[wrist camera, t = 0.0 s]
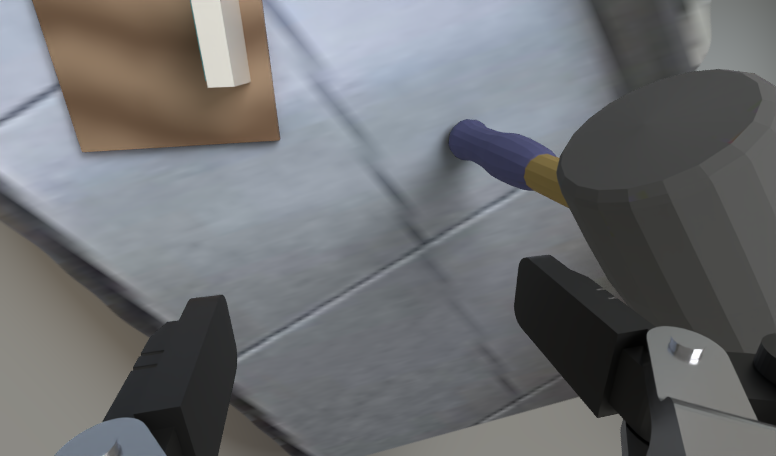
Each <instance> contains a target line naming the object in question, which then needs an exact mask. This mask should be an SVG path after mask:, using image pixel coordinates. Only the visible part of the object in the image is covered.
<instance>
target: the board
mask: <svg viewBox="0 0 776 456" xmlns="http://www.w3.org/2000/svg"><path fill="white" fill-rule="evenodd" d="M32 1H33V4H34V7H35V10H36V13H37V16H38V20H39V23H40V26H41V29H42V32H43V35H44V38H45V41H46V44H47V47H48V50H49V53H50V56H51V59H52V62H53V65H54V68H55V71H56V74H57V77H58V80H59V83H60V86H61V89H62V92H63V96H64V99H65V102H66V105H67V108H68V111H69V114H70V117H71V120H72V123H73V126H74V129H75V132H76V135H77V138H78V141H79V144H80V147H81V150H82V152H94V151H111V150H127V149H144V148H161V147H177V146H194V145H210V144H227V143H243V142H260V141H276V140H280V133H279V126H278V118H277V110H276V103H275V95H274V88H273V80H272V72H271V65H270V57H269V50H268V42H267V34H266V27H265V19H264V12H263V4H262V0H239V6H240V13H241V20H242V26H243V33H244V39H245V46H246V52H247V59H248V66H249V72H250V79H251V82H249V83H246V84H242V85H239V86H235V87H213V88H208V86H207V81H205V76H204V71H203V66H202V61H201V56H200V50H199V45H198V40H197V35H196V30H195V25H194V19H193V14H192V9H191V4H190V0H32Z"/></svg>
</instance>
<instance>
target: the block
mask: <svg viewBox="0 0 776 456" xmlns="http://www.w3.org/2000/svg"><path fill="white" fill-rule="evenodd" d="M190 4H191V9H192V14H193V19H194V25H195V30H196V35H197V40H198V45H199V50H200V56H201V61H202V66H203V71H204V76H205V81H207V86H208V88H213V87H235V86H239V85H242V84H246V83H249V82H251V79H250V72H249V66H248V59H247V52H246V46H245V39H244V33H243V26H242V20H241V13H240V6H239V0H190Z"/></svg>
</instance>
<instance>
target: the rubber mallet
mask: <svg viewBox="0 0 776 456" xmlns="http://www.w3.org/2000/svg"><path fill="white" fill-rule="evenodd" d="M449 147H450V150H451V151H452V152H453V154H454V155H455V156H456V157H457V158H459V159H461V160H470V161H473V162H475V163H477V164H479V165H480V166H482V167H483V168H484V169H485V170H486V171H487V172H488V173H489V174H490V175H492V176H493V177H495V178H497V179H498V180H500V181H503V182H505V183H507V184H509V185H511V186H514V187H517V188H520V189H523V190H529V191H536V192H538V193H540V194H542V195H544V196H546V197H548V198H550V199H552V200H554V201H556V202H558V203H560V204H562V205H564V206H566V207H568V208H570V210H571V212H572V214H573V216H574V218H575V220H576V222H577V224H578V226H579V228H580V230H581V232H582V233H583V235H584V237H585V239H586V241H587V243H588V245H589V247H590V248H591V250H592V252H593V254H594V255H595V257H596V259H597V261H598V262H599V264H600V266H601V268H602V270H603V271H604V273H605V275H606V277H607V278H608V280H609V282H610V283H611V284H612V286H613V287H614V288H615V289H616V291H617V292H618V293H619V295H620V296H621V297H622V298H623V300H624V301H625V302H626V304H627V305H628V306H629V307H630V308H631V309H632V310H634V311H635V312H636V313H638V314H639V315H641V316H642V317H643V318H645V319H646V320H647V321H649V322H650V323H651V324H653V325H654V326H656V327H661V326H670V327H678V328H683V329H687V330H690V331H693V332H696V333H698V334H701V335H703V336H705V337H707V338H709V339H710V340H712V341H714V342H715V343H717V344H718V345H719V346H720V347H721V348H723V349H724V351H725V352H737V353H751V354H756V352H757V350H758V348H759V345H760V343H761V340H762V338H763V337H764V336H766V335H768V334H774V333H776V86H774V85H773V84H771V83H770V82H768V81H766V80H765V79H763V78H761V77H759V76H758V75H756V74H754V73H747V72H740V71H731V70H721V69H716V70H705V71H694V72H688V73H684V74H680V75H676V76H672V77H668V78H665V79H661V80H658V81H656V82H653V83H651V84H648V85H646V86H643V87H641V88H638V89H636V90H633V91H632V92H630V93H628V94H626V95H624V96H623V97H621V98H619V99H617V100H615V101H613V102H612V103H610V104H608V105H607V106H606V107H604V108H603V109H602V110H600V111H599V112H597V113H596V114H595V115H593V116H592V117H591V118H589V119H588V120H587V121H586V122H585V123H584V124H583V125H582V126H581V127H580V128H579V129H578V130H577V131H576V132H575V133H574V134H573V136H572V137H571V139H570V141H569V142H568V144H567V145H566V147H565V149H564V150H563V152H562V154H561V155H560V158H558V157H556V155H555V154H554V153H553V152H552V151H551V150H549V149H548V148H546V147H545V146H543V145H541V144H539V143H538V142H536V141H534V140H532V139H530V138H527V137H525V136H522V135H520V134H515V133H502V132H498V131H495V130H492V129H489V128H487V127H486V126H485V125H484V124H483V123H481V122H480V121H477V120H469V119H466V120H463V121H460V122H459V123H458V124H457V125H456V126H454V127H453V129H452V131H451V133H450V137H449Z"/></svg>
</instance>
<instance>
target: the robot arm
mask: <svg viewBox="0 0 776 456" xmlns="http://www.w3.org/2000/svg"><path fill="white" fill-rule="evenodd" d="M514 311H515V316H516V319H517V322H518V324H519V325H520V327H521V328H522V329H523V330H524V332H525V333H526V334H527V335H528V336H529V338H530V339H531V340H532V341H533V342H534V343H535V345H536V346H537V347H538V348H539V349H540V351H541V352H542V353H543V354H544V355H545V357H546V358H547V359H548V360H549V361H550V362H551V364H552V365H553V366H554V367H555V368H556V370H557V371H558V372H559V373H560V374H561V375H562V377H563V378H564V379H565V380H566V381H567V383H568V384H569V385H570V386H571V387H572V389H573V390H574V391H575V392H576V393H577V394H578V396H579V397H580V398H581V399H582V400H583V401H584V403H585V404H586V405H587V406H588V407H589V409H590V410H591V411H592V412H593V413H594V415H595V416H596V417H597V418H600V417H605V416H610V415H614V414H620V416H622V418H623V422H622V425H621V445H622V456H776V333H774V334H768V335H766V336H764V337H763V338H762V340H761V343H760V345H759V348H758V350H757V352H756V354H751V353H737V352H725V351H724V349H723V348H721V347H720V346H719V345H718V344H717V343H715V342H714V341H712V340H710V339H709V338H707V337H705V336H703V335H701V334H698V333H696V332H693V331H690V330H687V329H683V328H678V327H670V326H661V327H656V326H654V325H653V324H651V323H650V322H649V321H647V320H646V319H645V318H643V317H642V316H641V315H639V314H638V313H636V312H635V311H634V310H632V309H631V308H630V307H628V306H627V305H626V304H624V303H623V302H621V301H620V300H619V299H615V298H614V296H613V295H612V294H610V293H609V292H608V291H606V290H603V289H602V287H601V286H600V285H598V284H597V283H595V282H594V281H593V280H591V279H590V278H589V277H586V276H584V275H582V274H579V273H577V272H575V271H572V270H570V269H569V268H567V267H566V266H565V265H563V264H562V263H561V262H559V261H558V260H557V259H555V258H554V257H553V256H551V255H542V256H534V257H526V258H523V259H522V260H521V261H520V263H519V267H518V276H517V285H516V293H515V302H514ZM236 369H237V349H236V343H235V339H234V334H233V329H232V325H231V320H230V316H229V311H228V307H227V302H226V299H225V297H224V296H223V295H216V296H207V297H199V298H191V299H190V300H189V301H188V303H187V305H186V307H185V309H184V311H183V313H182V315H181V317H180V319H179V321H171V322H167V323H166V324H165V325H163V326H162V327H161V328H160V329H159V330H158V331H156V332H155V333H154V334H153V335H152V336H151V337H150V338H149V340H148V342H147V344H146V345H145V347H144V349H143V351H142V352H141V356H140V357H139V358H138V360H137V361H136V363H135V365H134V367H133V371H131V372H130V374H129V375H128V377H127V379H126V381H125V383H124V385H123V386H122V388H121V390H120V391H119V393H118V395H117V397H116V399H115V400H114V402H113V404H112V406H111V407H110V409H109V411H108V413H107V415H106V416H105V418H104V420H103V422H102V423H100V424H97V425H95V426H93V427H91V428H89V429H87V430H85V431H83V432H82V433H80V434H78V435H77V436H76V437H74V438H73V439H71V440H70V441H69V442H68V443H67V444H65V445H64V446H63V447H62V448H61V449H60V450H59V451H58V452H57V453H56V454H55V455H54V456H218V453H219V448H220V443H221V439H222V434H223V430H224V425H225V420H226V416H227V411H228V406H229V402H230V397H231V393H232V388H233V384H234V379H235V374H236Z"/></svg>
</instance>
